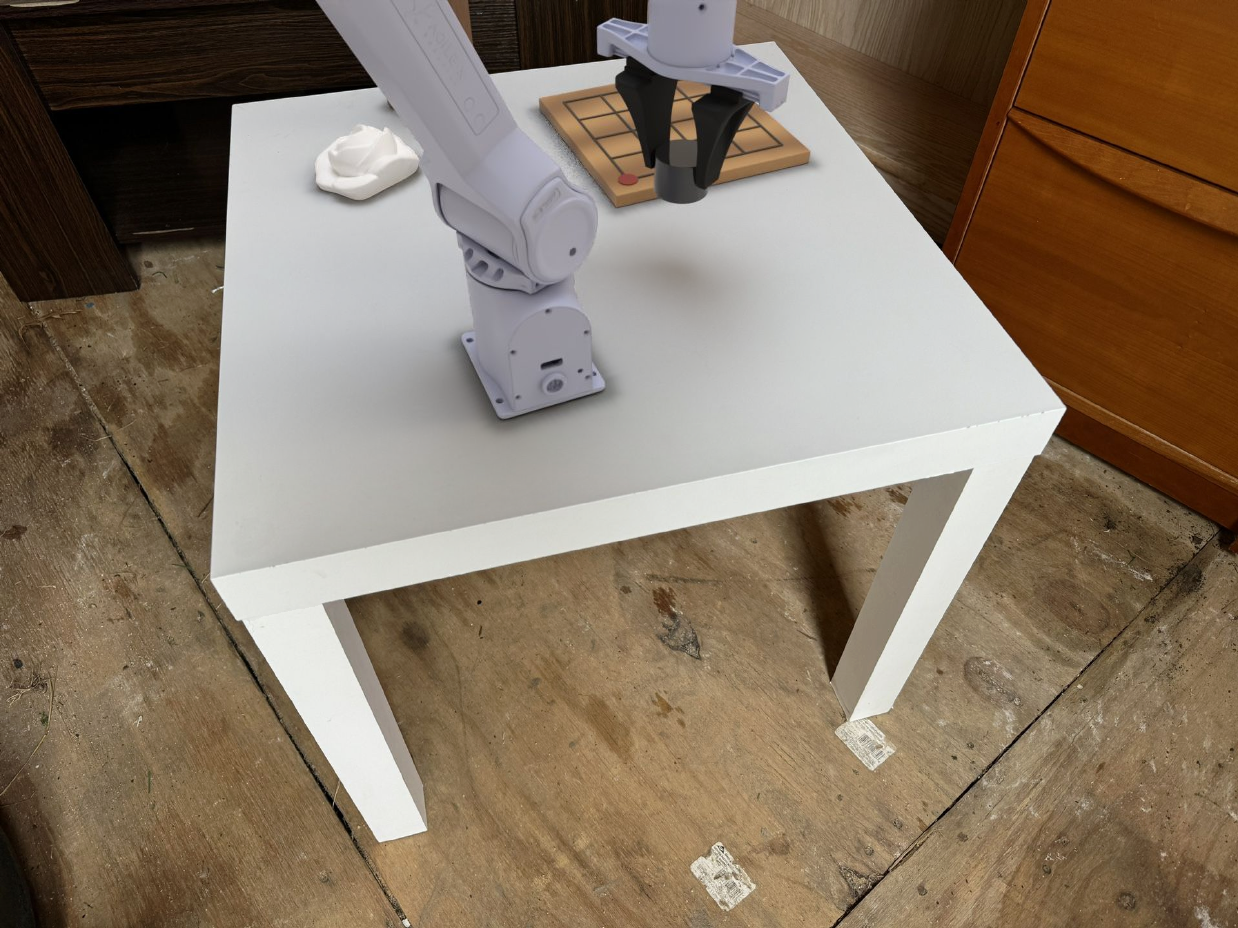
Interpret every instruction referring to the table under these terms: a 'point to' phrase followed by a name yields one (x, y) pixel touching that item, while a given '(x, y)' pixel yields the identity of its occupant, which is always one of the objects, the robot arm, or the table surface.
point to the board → (614, 150)
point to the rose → (364, 163)
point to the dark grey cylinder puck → (677, 172)
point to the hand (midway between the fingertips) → (681, 172)
